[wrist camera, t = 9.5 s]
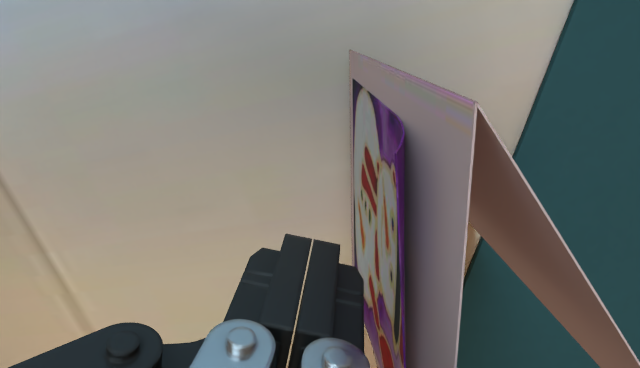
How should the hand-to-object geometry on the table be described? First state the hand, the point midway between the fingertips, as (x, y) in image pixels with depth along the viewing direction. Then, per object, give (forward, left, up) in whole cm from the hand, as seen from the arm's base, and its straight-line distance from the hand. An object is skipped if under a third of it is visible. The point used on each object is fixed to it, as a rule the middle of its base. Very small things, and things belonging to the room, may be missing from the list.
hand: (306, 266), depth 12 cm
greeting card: (+4, 0, -12) cm, 12 cm away
